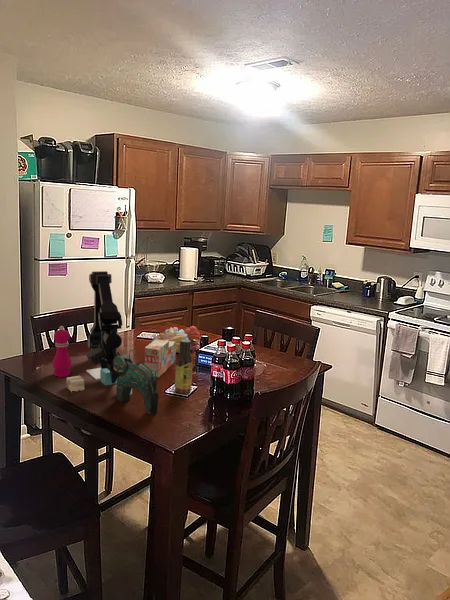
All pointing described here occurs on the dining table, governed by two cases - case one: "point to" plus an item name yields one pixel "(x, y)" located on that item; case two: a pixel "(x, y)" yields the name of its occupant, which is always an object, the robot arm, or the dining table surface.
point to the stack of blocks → (160, 356)
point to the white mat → (94, 373)
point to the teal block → (105, 377)
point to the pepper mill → (61, 353)
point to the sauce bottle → (183, 368)
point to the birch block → (75, 383)
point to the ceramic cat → (136, 381)
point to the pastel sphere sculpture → (180, 337)
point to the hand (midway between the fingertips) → (108, 379)
